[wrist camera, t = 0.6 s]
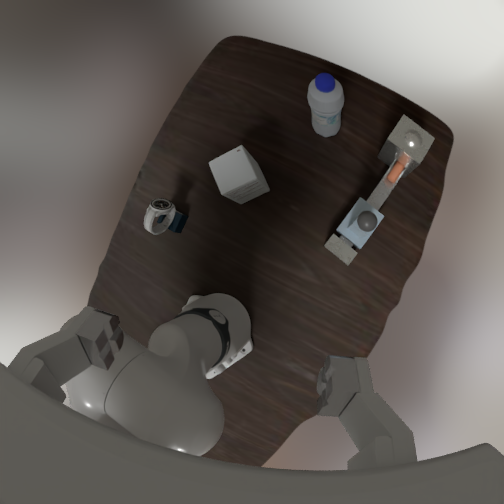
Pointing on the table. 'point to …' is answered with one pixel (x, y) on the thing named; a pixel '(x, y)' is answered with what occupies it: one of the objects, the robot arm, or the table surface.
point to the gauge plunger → (395, 172)
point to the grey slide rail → (395, 149)
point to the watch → (164, 217)
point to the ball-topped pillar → (360, 223)
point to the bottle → (325, 104)
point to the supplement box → (238, 175)
